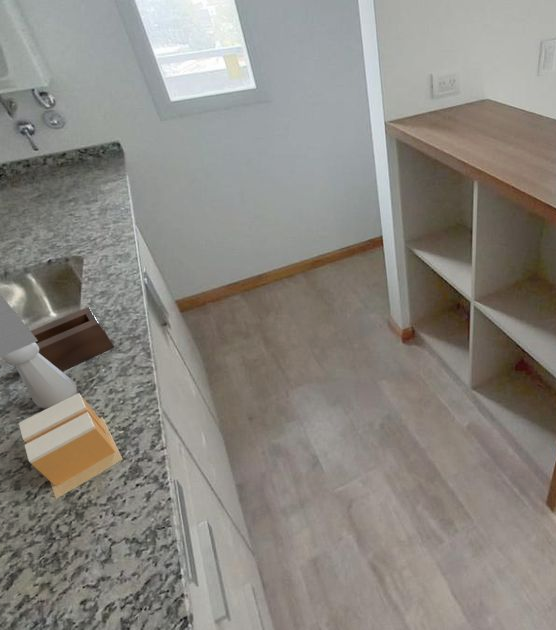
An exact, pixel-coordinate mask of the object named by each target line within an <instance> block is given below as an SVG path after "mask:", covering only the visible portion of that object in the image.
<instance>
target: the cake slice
mask: <svg viewBox="0 0 556 630" xmlns="http://www.w3.org/2000/svg"><path fill="white" fill-rule="evenodd" d="M23 446H24V449H25V452H26V456H27V460H28V462H29V463H30V464H31V465H32V466H33V467H34V468H35V469H36V470H37V471H38V472H39V473H41V475H42V476H44V477H45V478H46V479H47V480H48V481H49V483H50V484H51V483H53V484H54V485H55V486H57V485H59V484H60V483H62V482H64V481H66V480H67V479H69V478H71V477H72V476H74V475H76V474H78V473H79V472H81V471H83V470H85V469H86V468H88V467H90V466H91V465H93V464H95V463H97V462H98V461H100V460H102V459H103V458H105V457H107V456H109V455H110V454H112V453H114V452H115V450H114V448H113V446H112V444H111V442H110V439H109V437H108V436H107V435H106V434H105V433H104V431H103V430H102V429H101V428H100V426H99V425H98V424H97V423H96V422H95V420H94V419H93V418H92V417H91V416H90V415H89V413H88V412H86V413H85V414H83V415H81V416H79V417H77V418H75V419H73V420H71V421H69V422H67V423H65V424H64V425H62V426H60V427H58V428H56V429H54V430H52V431H50V432H48V433H46V434H44V435H42V436H41V437H39V438H37V439H35V440H33V441H31V442H29V443H25V444H24V445H23Z"/></svg>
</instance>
